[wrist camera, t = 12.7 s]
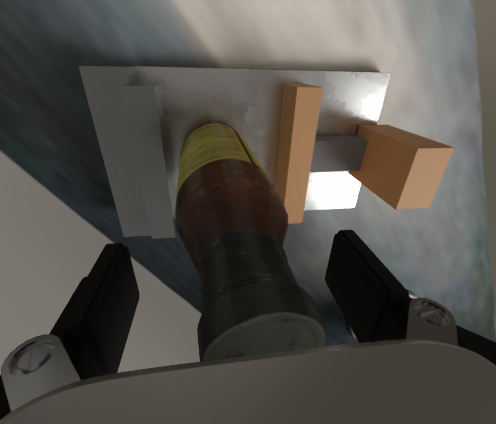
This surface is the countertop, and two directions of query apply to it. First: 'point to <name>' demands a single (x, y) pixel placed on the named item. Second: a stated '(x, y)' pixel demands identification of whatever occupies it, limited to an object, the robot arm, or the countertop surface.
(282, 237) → the sauce bottle
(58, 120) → the countertop surface
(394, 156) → the sliding jaw
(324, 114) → the vise base
